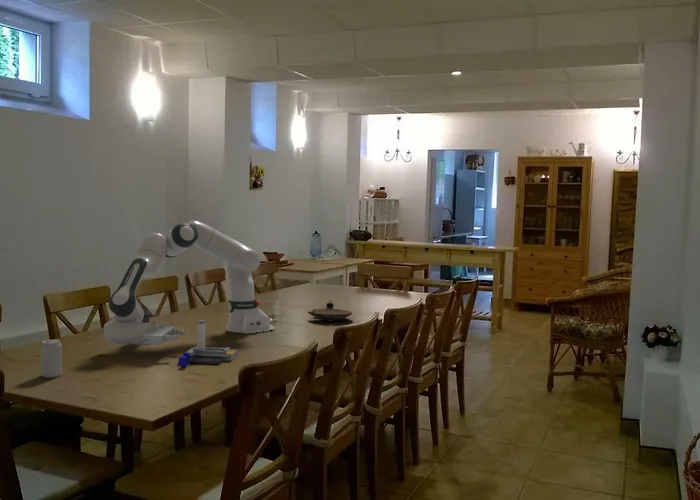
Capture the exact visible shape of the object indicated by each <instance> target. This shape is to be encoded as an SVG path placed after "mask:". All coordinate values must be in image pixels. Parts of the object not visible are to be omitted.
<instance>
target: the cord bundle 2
mask: <svg viewBox="0 0 700 500" xmlns="http://www.w3.org/2000/svg"><path fill="white" fill-rule="evenodd" d="M222 362H223V361H221V360H212V359H192V360H189V364H190V363H198V364H197V365H214V364H218V365H219V363H220V364H221V363H222Z"/></svg>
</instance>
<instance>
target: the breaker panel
mask: <svg viewBox="0 0 700 500" xmlns="http://www.w3.org/2000/svg"><path fill="white" fill-rule="evenodd" d="M226 347H227V348H206V347H205V350H197V345H196V346H195V347H191V348H190V349H189V350H187V351H186V352H189V360H192V359H212V360H221V361H222V362H225V361H231V360H232V359H233V358H234V357H237V356H238V350H239V349H238V348H231V347H230V348H231V349H230V348H229V346H226ZM234 359H235V358H234ZM234 359H233V360H234ZM233 360H232V361H233ZM232 361H231V362H232Z"/></svg>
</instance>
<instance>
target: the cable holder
mask: <svg viewBox="0 0 700 500" xmlns="http://www.w3.org/2000/svg"><path fill="white" fill-rule="evenodd" d="M177 362H178V363H177V365H178V366H180V368H181V367H187V368H188V366H189V364H190V363H189V352H187V351H186V352H185V351H183V355H182V356H181V355H180V356H179V357H178V361H177ZM188 363H189V364H188ZM187 365H188V366H187Z"/></svg>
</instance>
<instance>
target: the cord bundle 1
mask: <svg viewBox="0 0 700 500" xmlns="http://www.w3.org/2000/svg"><path fill="white" fill-rule="evenodd" d="M205 347H206V348H227V347H229V346H206V345H205ZM229 348H230V349H232V348H231V347H229Z"/></svg>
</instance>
